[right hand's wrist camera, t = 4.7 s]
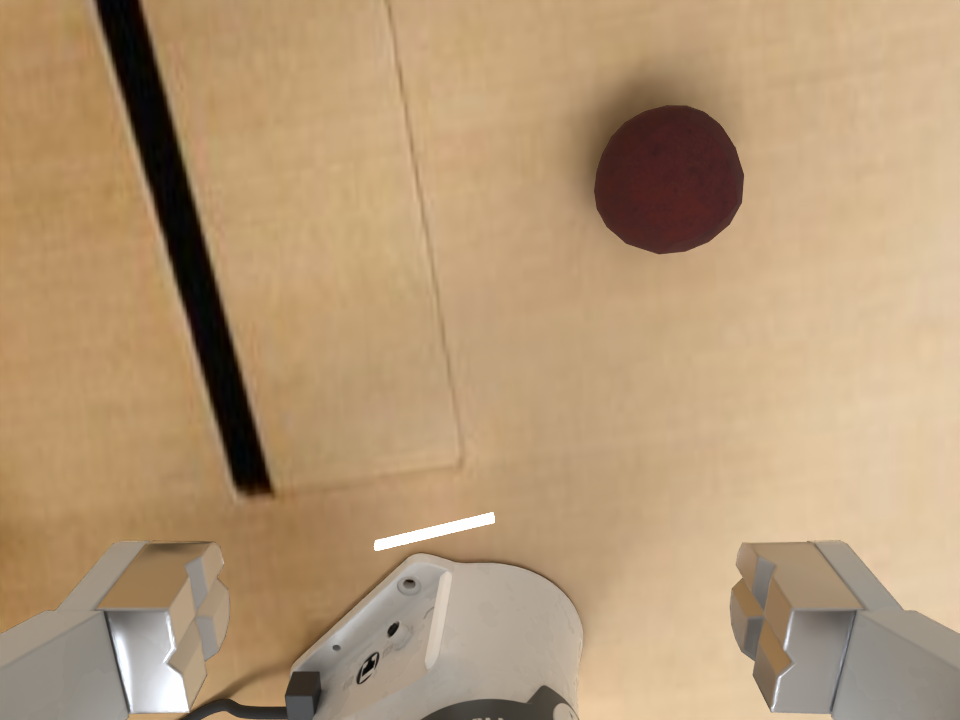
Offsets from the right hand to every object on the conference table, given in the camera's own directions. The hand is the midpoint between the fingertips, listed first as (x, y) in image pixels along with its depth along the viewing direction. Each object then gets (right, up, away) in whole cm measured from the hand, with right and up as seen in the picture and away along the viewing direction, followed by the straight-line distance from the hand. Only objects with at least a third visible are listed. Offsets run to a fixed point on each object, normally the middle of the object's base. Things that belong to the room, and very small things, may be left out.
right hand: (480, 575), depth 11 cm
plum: (+10, +14, +28) cm, 33 cm away
